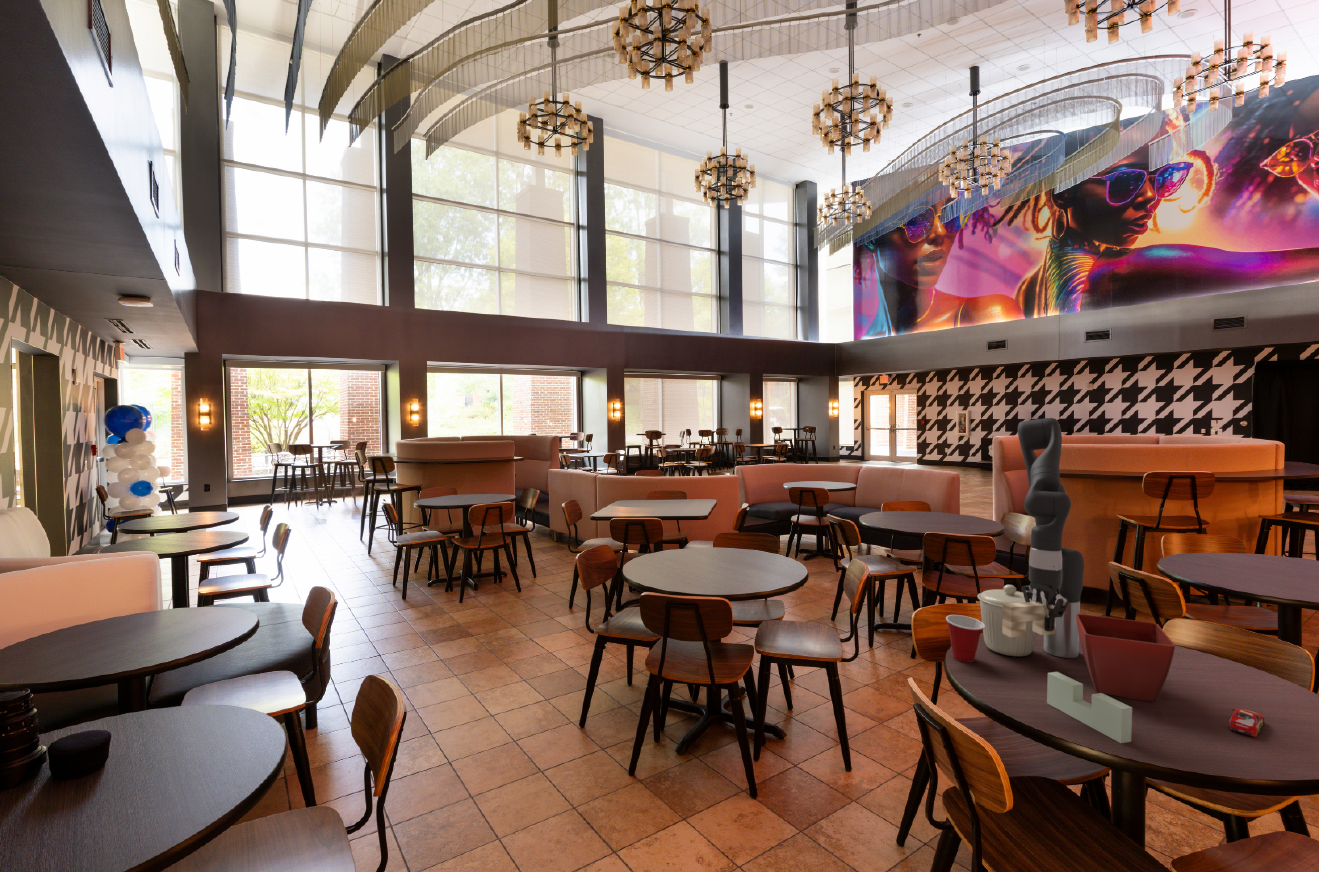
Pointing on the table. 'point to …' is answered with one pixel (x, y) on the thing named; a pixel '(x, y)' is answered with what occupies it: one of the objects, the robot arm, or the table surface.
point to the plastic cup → (964, 636)
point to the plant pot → (1125, 656)
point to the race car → (1246, 722)
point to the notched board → (1090, 707)
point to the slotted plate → (1024, 618)
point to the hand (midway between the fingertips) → (1043, 628)
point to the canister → (994, 619)
